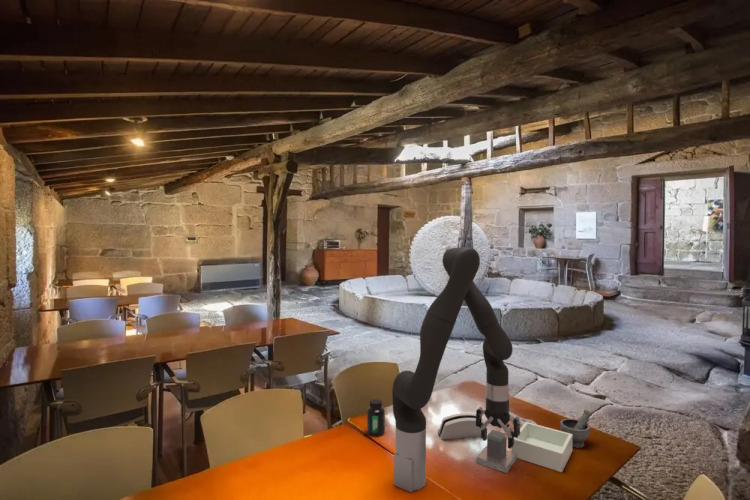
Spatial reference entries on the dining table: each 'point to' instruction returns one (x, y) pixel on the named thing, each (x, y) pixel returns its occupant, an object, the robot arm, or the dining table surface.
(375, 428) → the supplement bottle
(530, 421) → the adjustable wrench
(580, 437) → the mortar and pestle
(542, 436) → the bin
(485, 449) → the stud plate
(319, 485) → the dining table surface
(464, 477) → the dining table surface
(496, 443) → the grey rectangular block
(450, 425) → the napkin holder
